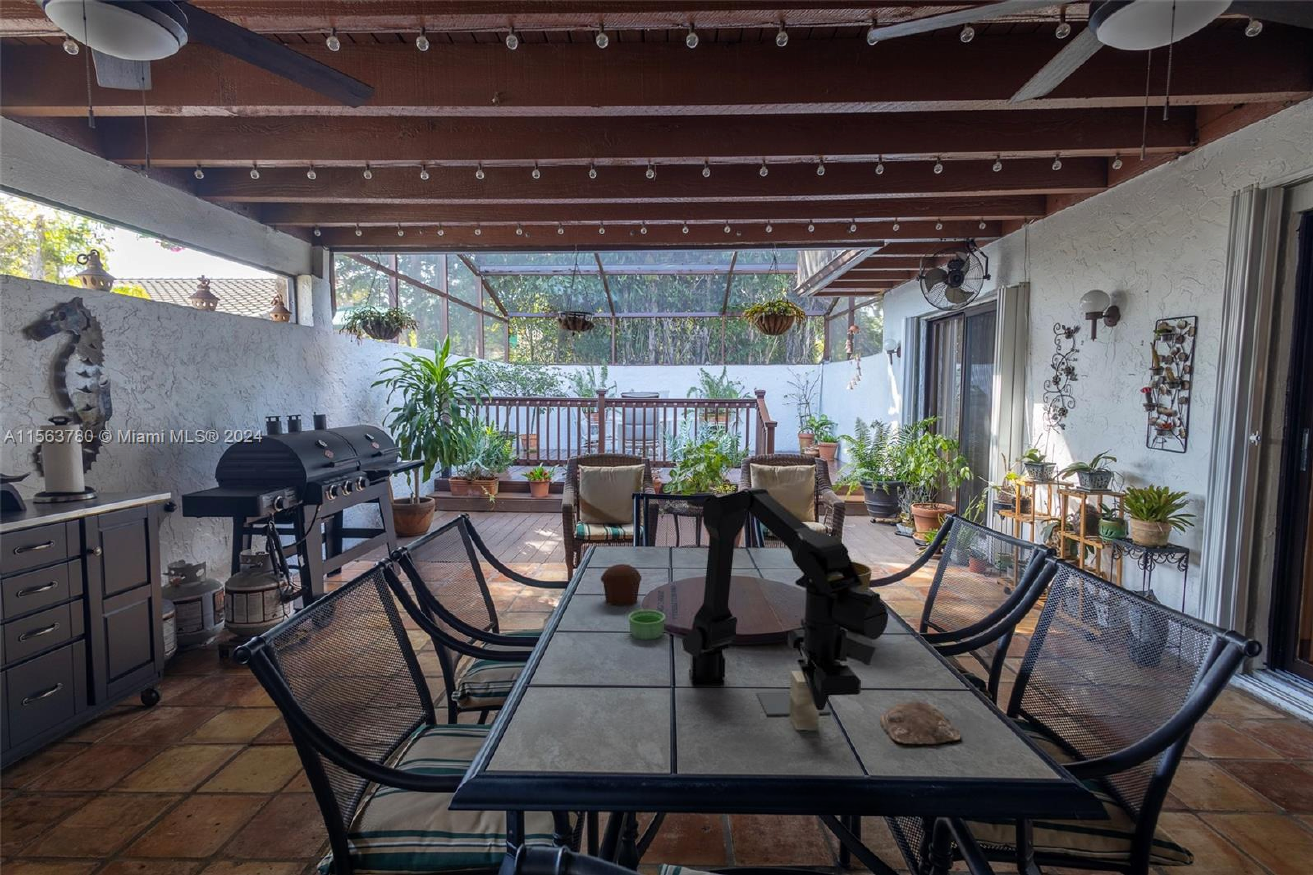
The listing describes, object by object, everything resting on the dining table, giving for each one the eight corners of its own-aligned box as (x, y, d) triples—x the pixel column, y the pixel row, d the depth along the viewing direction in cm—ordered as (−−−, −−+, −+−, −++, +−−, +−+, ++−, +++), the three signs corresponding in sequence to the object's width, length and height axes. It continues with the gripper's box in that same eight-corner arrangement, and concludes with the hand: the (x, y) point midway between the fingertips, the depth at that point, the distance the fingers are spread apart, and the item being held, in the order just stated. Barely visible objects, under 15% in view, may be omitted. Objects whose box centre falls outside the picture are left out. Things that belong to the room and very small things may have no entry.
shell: (868, 713, 115) (868, 695, 114) (933, 711, 116) (933, 692, 115) (896, 749, 103) (897, 729, 103) (968, 746, 104) (969, 726, 104)
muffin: (624, 591, 180) (624, 557, 180) (649, 601, 172) (650, 566, 171) (592, 600, 172) (592, 565, 172) (617, 611, 164) (617, 575, 163)
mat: (766, 716, 113) (766, 714, 112) (756, 694, 120) (756, 692, 120) (830, 714, 113) (830, 712, 113) (816, 692, 121) (816, 690, 121)
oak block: (796, 730, 108) (797, 681, 107) (789, 718, 112) (791, 671, 111) (818, 730, 108) (819, 681, 107) (811, 717, 112) (812, 670, 111)
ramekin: (664, 641, 145) (665, 623, 145) (627, 640, 146) (627, 623, 145) (665, 626, 154) (665, 609, 154) (629, 626, 154) (629, 609, 154)
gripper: (896, 640, 91) (892, 740, 93) (848, 597, 110) (845, 680, 111) (823, 642, 91) (820, 742, 92) (788, 598, 109) (785, 682, 111)
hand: (819, 709), depth 101 cm, fingers closed
